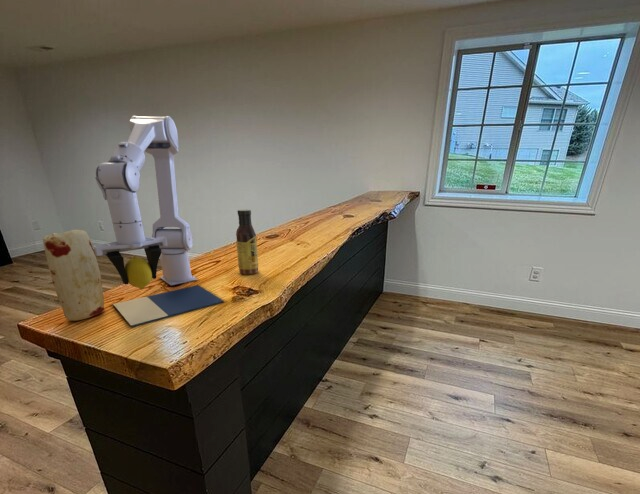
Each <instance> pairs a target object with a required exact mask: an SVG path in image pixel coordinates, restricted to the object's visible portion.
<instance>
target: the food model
mask: <svg viewBox="0 0 640 494" xmlns="http://www.w3.org/2000/svg"><path fill="white" fill-rule="evenodd" d="M42 243H43V248H44V253H45V258H46V262H47V266H48V270H49V274H50V278H51V281H52V284H53V287H54V290H55V294H56V296H57V299H58V301H59V303H60V307H61V309H62V312H63V315H64V317H65V319H66V321H69V322H71V321H75V322H77V321H82V320H86V319H88V318H91V317H94V316H97V315H99V314H101V313H103V312H104V311H105V300H104V299H105V298H104V290H103V289H104V288H103V281H102V276H101V271H100V267H99V263H98V260H97V255H96V254H95V251H94V247H93V245H92V242H91V238H90V237H89V234H88V233H87V231H86V230H82V229H72V230H67V231H64V232H63V231H62V232H60V233H57V232H52V233H50V234H48V235H46V236H44V237H43V239H42Z"/></svg>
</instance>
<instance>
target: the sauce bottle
mask: <svg viewBox="0 0 640 494" xmlns="http://www.w3.org/2000/svg"><path fill="white" fill-rule="evenodd" d="M237 216H238V227H237V229H236V231H235V237H236V253H237V263H238V264H237V265H238V270H239V273H240V275H247V276H248V275H255V274H257V273H258V272H259V256H258V242H257V233H256V232H255V229H254V227H253V224H252V210H251V209H247V208H246V209H238V210H237Z"/></svg>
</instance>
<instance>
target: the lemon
mask: <svg viewBox="0 0 640 494" xmlns="http://www.w3.org/2000/svg"><path fill="white" fill-rule="evenodd" d="M124 267H125V272H126V275H127V278H128V283H129V285H131V286H132V287H134V288H138V289H139V290H144V289H145V288H146V287H147V286H148V285H149V284H151V282H152V280H153V278H152V271H151V268H150V265H149V264H148V260H146V259H143V258H142V257H138V256H137V255H136V256H135V255H134V256H133V257H132V258H130V259H129V260H128V261H127V262H126V263H125V264H124Z"/></svg>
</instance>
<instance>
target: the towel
mask: <svg viewBox="0 0 640 494" xmlns="http://www.w3.org/2000/svg"><path fill="white" fill-rule="evenodd" d="M223 303H225V302H224V300H223V299H221V298H220V297H218V296H217V295H215V294H213V293H211V292H210V291H209V290H207V289H205V288H203V287H202V286H200V285H199V284H197V285H193V286H188V287H183V288H178V289H174V290H170V291H166V292H161V293H157V294H152V295H149V296H142V297H138V298H133V299H129V300H125V301H119V302H116V303H112V304H113V307H114V308H115V309H116V310H117V312H118V313H119V314H120V315H121V317H122V318H123V319H124V320H125V321H126V323H127V324H128V325H129V326H130V328H133V327H138V326H141V325H144V324H149V323H152V322H155V321H160V320H163V319H167V318H170V317H174V316H179V315H181V314H185V313H189V312H192V311H196V310H200V309H203V308H208V307H212V306H215V305H219V304H223Z"/></svg>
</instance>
